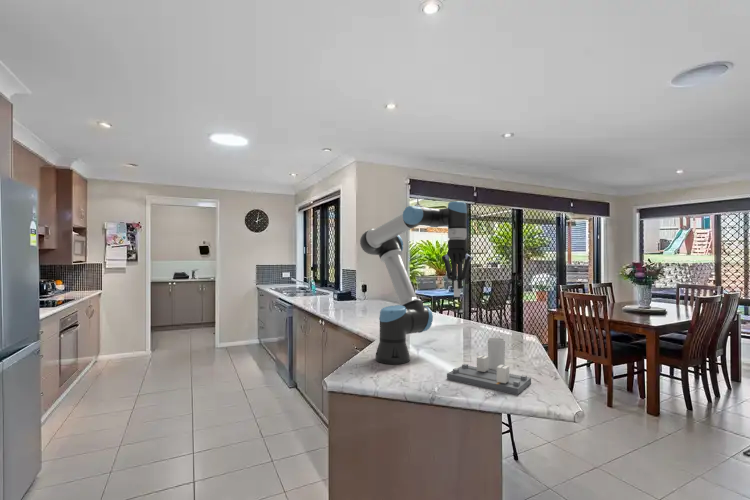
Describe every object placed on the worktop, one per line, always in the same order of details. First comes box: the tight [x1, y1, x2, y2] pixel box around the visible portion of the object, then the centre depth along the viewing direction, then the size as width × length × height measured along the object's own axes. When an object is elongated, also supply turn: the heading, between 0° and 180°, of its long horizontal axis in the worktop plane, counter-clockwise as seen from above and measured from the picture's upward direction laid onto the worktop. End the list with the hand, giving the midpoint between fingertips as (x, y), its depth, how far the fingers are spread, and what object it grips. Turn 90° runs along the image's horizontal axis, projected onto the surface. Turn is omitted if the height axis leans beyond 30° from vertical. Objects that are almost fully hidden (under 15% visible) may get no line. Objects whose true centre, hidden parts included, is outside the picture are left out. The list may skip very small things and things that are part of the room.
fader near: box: [497, 365, 510, 383], centre depth 131 cm, size 3×4×5 cm
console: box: [446, 363, 532, 396], centre depth 138 cm, size 26×15×3 cm, turn 52°
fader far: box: [476, 355, 489, 372], centre depth 144 cm, size 3×4×5 cm
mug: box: [487, 337, 506, 371], centre depth 156 cm, size 10×7×12 cm, turn 162°
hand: (457, 296), depth 154 cm, fingers closed
